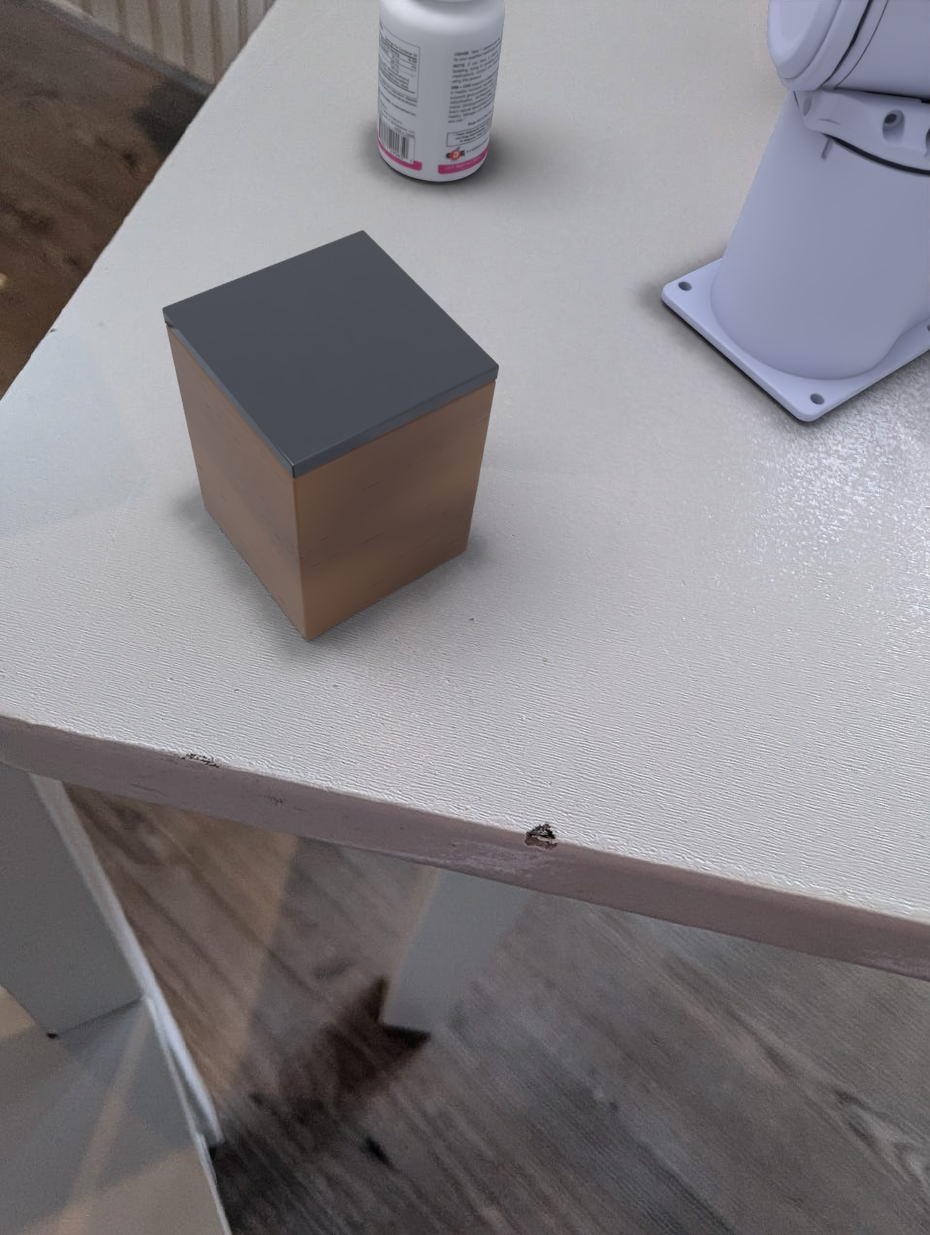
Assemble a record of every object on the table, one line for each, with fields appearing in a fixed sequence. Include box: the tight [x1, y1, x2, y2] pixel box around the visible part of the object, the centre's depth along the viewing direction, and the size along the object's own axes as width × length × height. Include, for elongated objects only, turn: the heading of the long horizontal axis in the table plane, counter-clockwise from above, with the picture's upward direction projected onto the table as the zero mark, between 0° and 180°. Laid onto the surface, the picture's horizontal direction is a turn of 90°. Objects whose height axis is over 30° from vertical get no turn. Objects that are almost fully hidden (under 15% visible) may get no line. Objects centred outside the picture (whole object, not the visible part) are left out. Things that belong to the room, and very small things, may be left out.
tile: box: [161, 229, 500, 479], centre depth 24 cm, size 6×6×1 cm
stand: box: [165, 324, 497, 642], centre depth 27 cm, size 6×6×8 cm
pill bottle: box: [376, 0, 506, 183], centre depth 38 cm, size 5×5×8 cm
